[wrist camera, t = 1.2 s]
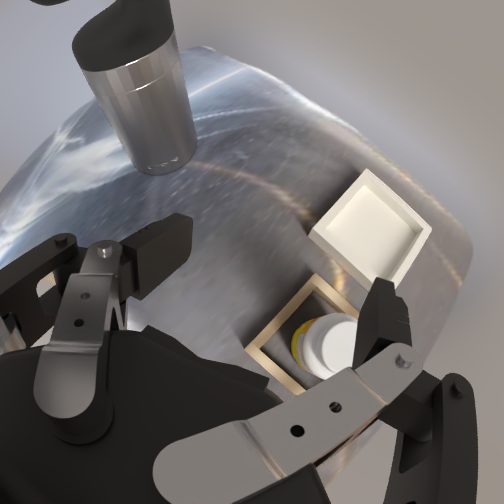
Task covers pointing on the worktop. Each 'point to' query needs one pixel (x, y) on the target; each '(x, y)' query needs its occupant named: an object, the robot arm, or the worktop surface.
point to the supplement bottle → (325, 344)
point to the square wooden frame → (312, 284)
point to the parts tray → (371, 232)
